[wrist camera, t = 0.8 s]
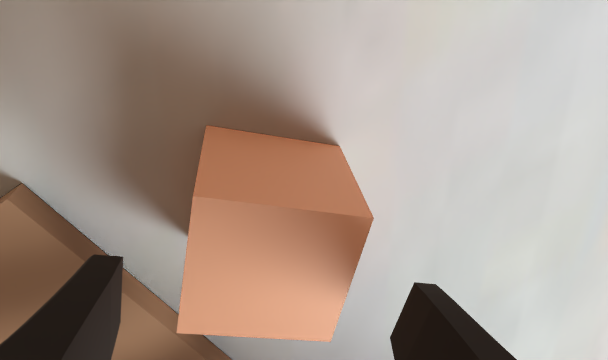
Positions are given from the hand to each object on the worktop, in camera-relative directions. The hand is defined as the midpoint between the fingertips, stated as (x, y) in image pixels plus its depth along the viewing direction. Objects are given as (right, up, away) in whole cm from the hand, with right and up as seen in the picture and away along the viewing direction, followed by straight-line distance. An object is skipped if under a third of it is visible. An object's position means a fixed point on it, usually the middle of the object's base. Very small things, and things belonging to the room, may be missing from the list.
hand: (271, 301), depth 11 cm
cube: (-1, +3, +5) cm, 5 cm away
